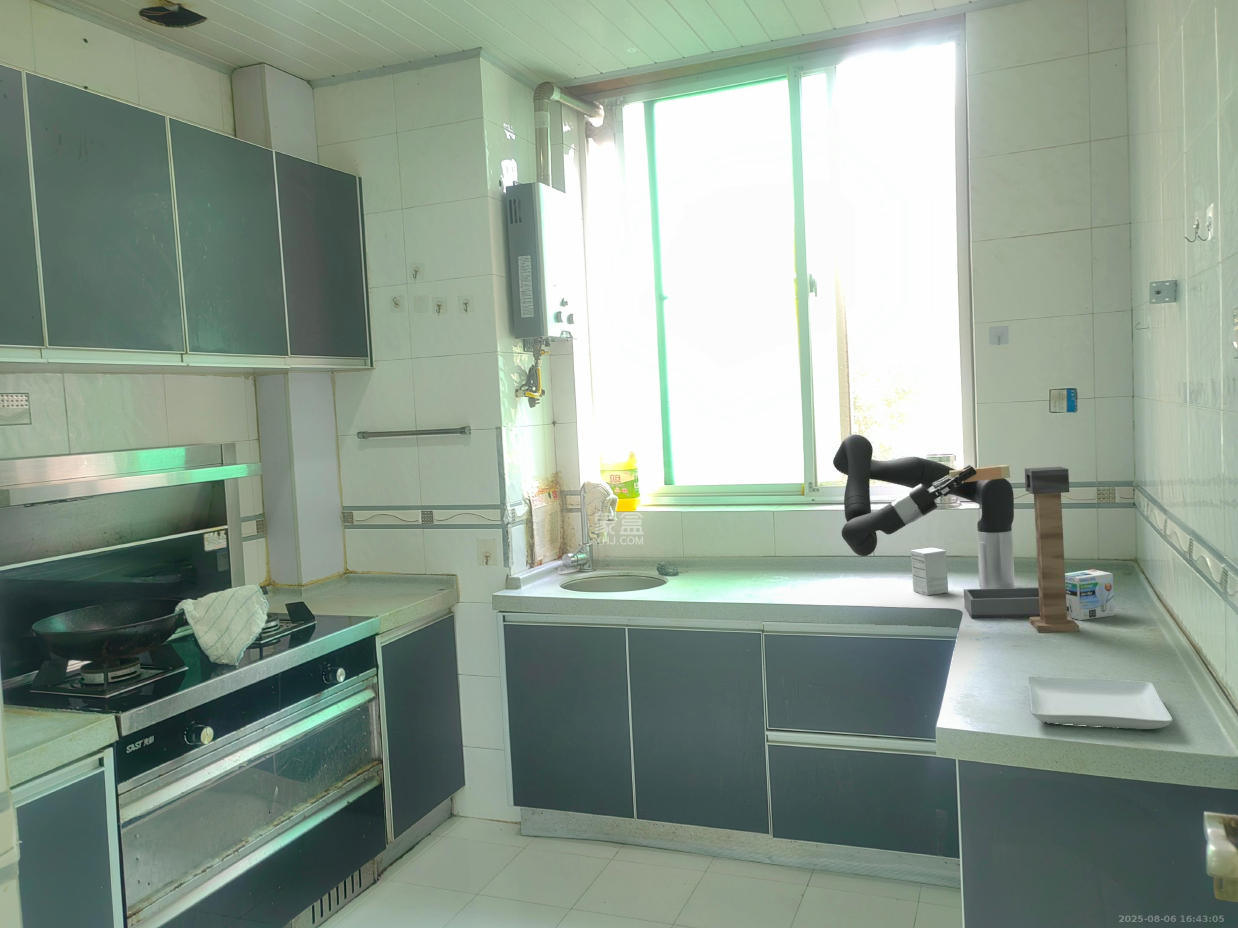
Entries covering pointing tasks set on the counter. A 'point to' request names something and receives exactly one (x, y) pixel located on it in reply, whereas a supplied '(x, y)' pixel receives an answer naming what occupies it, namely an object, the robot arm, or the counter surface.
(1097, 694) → the salad plate
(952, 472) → the tan wooden bar
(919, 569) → the supplement box
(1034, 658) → the counter surface
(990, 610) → the tray
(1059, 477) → the stand
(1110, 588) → the light bulb box
